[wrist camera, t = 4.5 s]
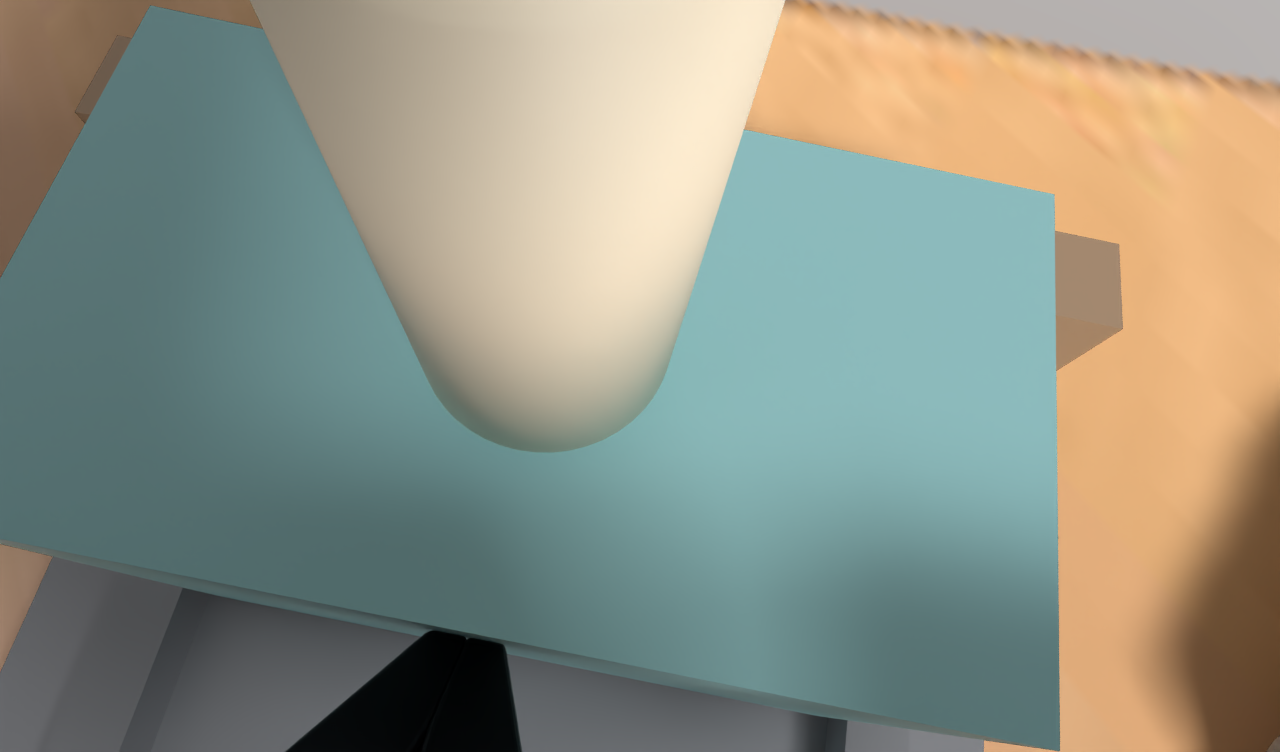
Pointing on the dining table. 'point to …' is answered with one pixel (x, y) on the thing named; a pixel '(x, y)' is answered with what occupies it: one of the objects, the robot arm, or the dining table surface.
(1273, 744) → the brick
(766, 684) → the dowel block
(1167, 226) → the dining table surface
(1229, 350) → the dining table surface
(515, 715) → the robot arm
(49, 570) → the track
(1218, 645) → the dining table surface
